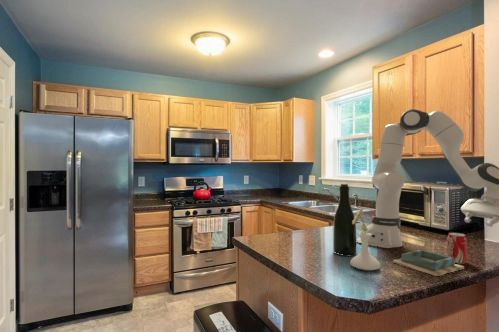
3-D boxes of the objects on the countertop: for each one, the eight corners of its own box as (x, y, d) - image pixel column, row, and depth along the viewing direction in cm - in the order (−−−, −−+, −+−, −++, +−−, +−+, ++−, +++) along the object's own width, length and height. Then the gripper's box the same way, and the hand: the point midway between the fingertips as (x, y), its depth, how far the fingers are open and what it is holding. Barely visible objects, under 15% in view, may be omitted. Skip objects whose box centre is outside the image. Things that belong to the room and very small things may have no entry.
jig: (436, 277, 105) (436, 265, 105) (393, 263, 121) (392, 253, 121) (464, 269, 113) (463, 258, 113) (419, 256, 130) (419, 247, 130)
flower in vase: (355, 261, 124) (355, 203, 124) (384, 267, 116) (383, 205, 117) (344, 269, 114) (343, 207, 114) (374, 276, 106) (373, 209, 107)
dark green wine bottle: (334, 249, 142) (333, 183, 143) (356, 251, 139) (356, 183, 139) (332, 255, 133) (331, 184, 133) (356, 257, 129) (355, 184, 129)
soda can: (443, 259, 125) (442, 232, 125) (458, 259, 126) (457, 232, 126) (456, 265, 118) (455, 236, 118) (472, 264, 119) (471, 235, 119)
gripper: (467, 193, 137) (450, 214, 134) (516, 197, 117) (498, 222, 115) (474, 202, 138) (458, 223, 135) (524, 208, 118) (506, 233, 116)
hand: (477, 223), depth 125 cm, fingers open, 8 cm apart
